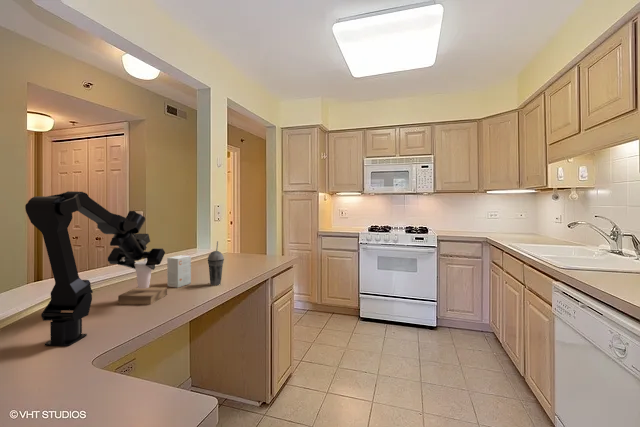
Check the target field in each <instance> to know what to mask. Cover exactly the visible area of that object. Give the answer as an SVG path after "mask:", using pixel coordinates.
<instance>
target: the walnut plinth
mask: <svg viewBox="0 0 640 427" xmlns="http://www.w3.org/2000/svg"><path fill="white" fill-rule="evenodd" d="M167 295H168V286H167V287H166V286H165V287H164V286H161V287H158V286H157V287H156V286H149V287H148V288H144V289H139V288H138V286H136V287H134V288H132V289H130V290H128V291H126V292H123V293H121V294H119V295H118V296H117V297H118V299H117V303H118V304H119V305H153V304H154V303H156V302H157V301H160V300H161V299H162V298H164V297H166V296H167Z"/></svg>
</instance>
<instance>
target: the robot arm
mask: <svg viewBox="0 0 640 427" xmlns="http://www.w3.org/2000/svg"><path fill="white" fill-rule="evenodd" d="M24 206H25V213H26V215H27V217H28V219H29V221H30V223H31V225H33V226H34V227H35V228H36V229H37V230H39V231H40V233H41V234H42V237H43V241H44V245H45V249H46V252H47V257H48V261H49V264H50V268H51V272H52V276H53V279H54V286H53V287H52V290H51V291H50V301H49V302H48V303H47V305H46V306H45V307H44V310H42V312H41V314H40V316H41V319H42V321H43V322H44V321H45V322H46V321H49V322H50V324H49V325H50V328H49V329H50V339H49V341H46V342H45V343H44V346H46V347H47V346H51V347H52V346H55V347H58V346H59V347H61V346H62V347H63V346H64V347H68V346H71V345H73V344H74V343H76V342H78V341H79V340H82V339H83V338H85V337H87V336H88V333H83V320H82V319H83V318H85V317H88V316H89V314H90V313H89V312H90V308H91V306H92V302H93V292H94V291H93V290H92V286H91V281H90V280H89V279H81V278H80V276H79V273H78V268H77V267H78V266H77V264H76V263H77V262H76V259H75V255H74V251H73V248H72V243H71V239H70V235H69V234H70V233H69V231H68V230H69V229H68V228H69V227H70V223H71V222H72V221H73V213H75V212H79V213H80V214H81V215H83V216H85V217H87V218H88V219H90V220H91V221H93V222H94V223H95V224H96V226H97V227H96V228H97V229H98V230H99V231H100V232H102V233H103V234H104V235H113V236H112V237H111V240H110V242H109V246H112V247H114V248H112V250H111V252H109V255H108V256H107V262H108V263H109V264H110V265H118V266H123V267H126V268H130V269H133V270H136V269H135V266H134V263H136V262H140V260H142V259H145V258H146V261H147V263H146V266H147V267H149V268H151V269H152V270H151V271H154V270H155V268H156V266H159V265H160V264H161V263H162V261H163V259H164V257H165V254H166V252H165V250H164V248H160V247H159V248H154V247H153V248H152V249H151V250H149V251H146V252H145V250H147V248H148V247H147V245H148V244H149V243H151V238H150V235H149V233H140V230H141V229H142V227H143V225H144V224H145V222H146V217H145V216H143V215H142V214H140V213H138V212H136V210H129V211H128V213H127V215H126V216H123V215H120V214H115V213H113V212H111V211H109V210H108V209H106V208H105V207H103V206H102V205H100V204H99V203H98V202H97V201H95V200H94V199H93V198H91V197H90V196H89V194H88V193H87V192H84V191H69V190H68V191H66V192H65V191H64V192H62V193H59V194H53V195H47V196H43V195H42V196H32V197H30V199H29V200H27V203H26V204H25V205H24ZM115 246H116V247H115ZM62 311H63V312H62ZM65 311H66V312H65ZM67 311H70V312H67Z"/></svg>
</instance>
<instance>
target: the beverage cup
mask: <svg viewBox="0 0 640 427" xmlns="http://www.w3.org/2000/svg"><path fill="white" fill-rule="evenodd" d="M218 247H219V241H216V249H215V250H214V251H211V252H210V253H209V254H208V257H207V264H208V271H209V274H208V275H209V282H210V284H211V285H210V286H212V285H217V286H220V285H221V284H222V276H223V264H224V260H225V258H224V255H223V252H220V251H218V250H219V249H218ZM219 284H220V285H219Z"/></svg>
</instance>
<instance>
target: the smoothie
mask: <svg viewBox="0 0 640 427" xmlns="http://www.w3.org/2000/svg"><path fill="white" fill-rule="evenodd" d="M144 252H147V251H145V250H144ZM135 262H136V263H134V266H135V269H134V270H135V274H136V283H137V287H138V288H139V289H144V288H148V287H150V282H151V277H152V271H153V270H152V269H151V268H149V267H147V266H146V263H147V259H146V258H144V261H135Z"/></svg>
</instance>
